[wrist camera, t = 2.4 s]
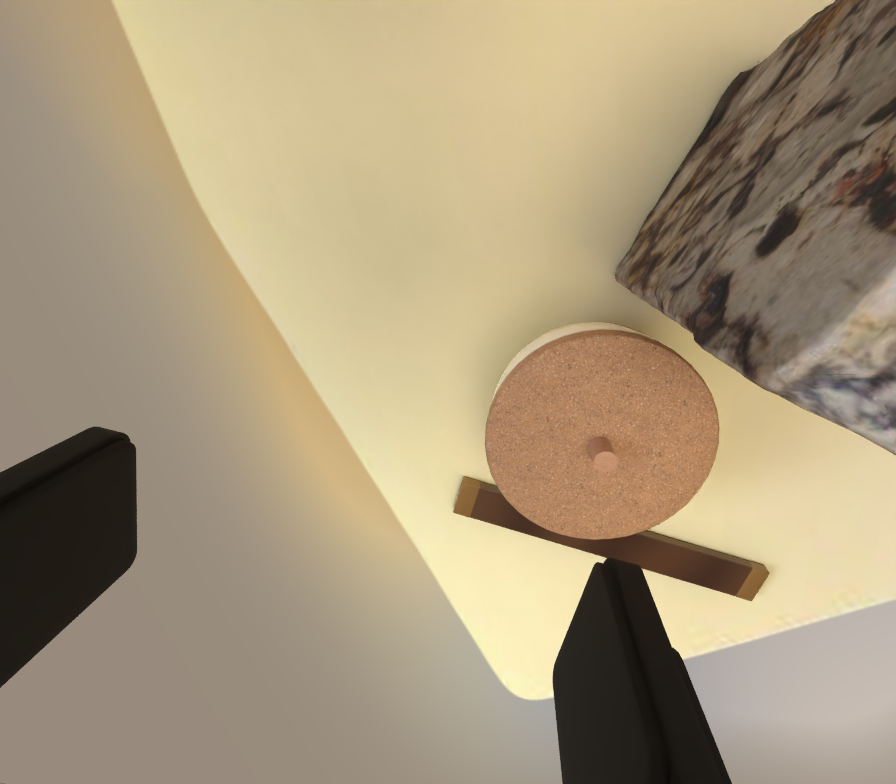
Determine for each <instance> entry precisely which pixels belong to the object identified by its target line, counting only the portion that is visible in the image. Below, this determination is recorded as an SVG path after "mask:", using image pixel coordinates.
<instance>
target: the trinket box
mask: <svg viewBox="0 0 896 784" xmlns="http://www.w3.org/2000/svg"><path fill="white" fill-rule="evenodd" d="M718 444H719V421H718V414H717V409H716V406H715V403H714V400H713V397H712V394H711V392H710V391H709V389H708V387H707V385H706V383H705V382H704V380H703V378H702V377H701V376H700V375H699V374H698V372H697V371H696V370H695V369H694V368H693V367H692V365H690V364H689V363H688V362H687V361H686V360H685V359H683V358H682V357H681V356H680V355H679V354H677V353H676V352H675V351H674V350H672V349H670V348H668V347H667V346H665V345H663V344H661V343H660V342H658V341H656V340H654V339H652V338H650V337H648V336H647V335H645V334H643V333H641V332H638V331H635V330H633V329H630V328H627V327H624V326H620V325H615V324H611V323H603V322H585V323H576V324H570V325H567V326H563V327H559V328H556V329H554V330H552V331H549V332H547V333H545V334H543V335H541V336H540V337H538V338H537V339H535V340H533V341H532V342H530V343H529V344H528V345H527V346H526V347H525V348H523V349H522V350H521V351H520V352H519V353H518V354H517V355H516V356H515V357H514V359H513V360H512V361H511V362H510V363H509V365H508V367H507V368H506V370H505V371H504V373H503V375H502V376H501V378H500V380H499V383H498V385H497V388H496V390H495V392H494V396H493V400H492V404H491V406H490V410H489V414H488V418H487V423H486V435H485V448H486V457H487V462H488V465H489V468H490V472H491V475H492V477H493V479H494V481H495V483H496V485H497V487H498V489H499V490H500V491H501V493H502V494H503V496H504V497H505V498H506V500H507V501H508V502H509V503H510V504H511V505H512V506H513V507H514V508H515V509H516V510H517V511H518V512H519V513H521V514H522V515H523V516H525V517H526V518H527V519H529V520H530V521H532V522H534V523H535V524H537V525H539V526H541V527H543V528H545V529H547V530H550V531H553V532H555V533H558V534H561V535H566V536H570V537H575V538H583V539H593V540H596V539H612V538H618V537H625V536H629V535H632V534H636V533H639V532H642V531H645V530H647V529H649V528H651V527H654V526H656V525H658V524H660V523H662V522H663V521H665V520H666V519H668V518H669V517H671V516H673V515H674V514H675V513H676V512H678V511H679V510H680V509H681V508H683V507H684V506H685V505H686V504H687V503H688V502H689V501H690V500H691V499H692V498H693V496H694V495H695V494H696V493H697V492H698V491H699V489H700V488H701V486H702V485H703V483H704V481H705V480H706V478H707V477H708V475H709V472H710V470H711V468H712V465H713V463H714V461H715V457H716V452H717V448H718Z"/></svg>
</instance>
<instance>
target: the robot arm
mask: <svg viewBox="0 0 896 784" xmlns="http://www.w3.org/2000/svg"><path fill="white" fill-rule="evenodd" d="M136 505H137V504H136V448H135V446H134V444H132V443H130V439H129V437H128V436H127V435H126V434H124V433H121V432H117V431H113V430H109V429H105V428H101V427H92V428H89V429H86V430H84V431H82V432H80V433H78V434H77V435H75V436H72V437H71V438H68V439H66V440H65V441H63V442H61V443H59V444H56V445H54V446H52V447H50V448H48V449H46V450H45V451H43V452H40V453H38V454H36V455H34V456H33V457H30V458H29V459H27V460H24V461H22V462H20V463H18V464H17V465H14V466H13V467H11V468H9V469H7V470H5V471H2V472H0V687H2V685H4V684H5V683H6V682H7V681H8V680H9V679H10V678H11V677H12V676H13V675H15V674H16V673H17V672H18V671H19V670H20V669H21V668H22V667H23V666H24V665H25V664H26V663H27V662H29V661H30V660H31V659H32V658H33V657H34V656H35V655H36V654H37V653H38V652H39V651H40V650H42V649H43V648H44V647H45V646H46V645H47V644H48V643H49V642H50V641H51V640H52V639H53V638H55V637H56V636H57V635H58V634H59V633H60V632H61V631H62V630H63V629H64V628H65V627H66V626H68V625H69V624H70V623H71V622H72V621H73V620H74V619H75V618H76V617H77V616H78V615H79V614H81V613H82V612H83V611H84V610H85V609H86V608H87V607H88V606H89V605H90V604H91V603H92V602H94V601H95V600H96V599H97V598H98V597H99V596H100V595H101V594H102V593H103V592H104V591H105V590H106V589H108V588H109V587H110V586H111V585H112V584H113V583H114V582H115V581H116V580H117V579H118V578H119V577H121V576H122V575H123V574H124V573H125V572H126V571H127V570H128V569H129V568H130V566H131V565H132V563H133V561H134V559H135V557H136V554H137V506H136ZM553 690H554V700H555V710H556V720H557V730H558V741H559V751H560V760H561V771H562V781H563V784H732V783H731V780H730V778H729V776H728V773H727V771H726V768H725V765H724V763H723V760H722V758H721V755H720V753H719V750H718V748H717V745H716V743H715V740H714V738H713V735H712V733H711V730H710V728H709V725H708V723H707V720H706V718H705V715H704V712H703V710H702V708H701V705H700V702H699V700H698V697H697V695H696V692H695V690H694V688H693V685H692V682H691V680H690V677H689V675H688V672H687V670H686V667H685V665H684V662H683V660H682V658H681V656H680V654H679V652H677V651H676V650H675V649H674V648H672V647H671V644H670V641H669V639H668V636H667V634H666V631H665V628H664V626H663V623H662V621H661V618H660V615H659V613H658V610H657V608H656V605H655V602H654V600H653V597H652V595H651V592H650V589H649V587H648V584H647V582H646V579H645V576H644V574H643V571H642V569H641V567H640V566H639V565H637V564H634V563H630V562H626V561H622V560H618V559H615V558H611V557H609V558H607V559H606V560H605V562H604V564H603V563H599V562H597V563H596V564H595V565H594V567H593V569H592V571H591V574H590V576H589V579H588V581H587V584H586V586H585V589H584V591H583V594H582V596H581V599H580V601H579V604H578V606H577V609H576V611H575V614H574V616H573V619H572V621H571V624H570V626H569V629H568V631H567V634H566V636H565V639H564V641H563V644H562V646H561V649H560V651H559V654H558V656H557V659H556V661H555V665H554V670H553ZM0 784H3V783H0Z"/></svg>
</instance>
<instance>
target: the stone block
mask: <svg viewBox="0 0 896 784" xmlns="http://www.w3.org/2000/svg"><path fill="white" fill-rule="evenodd" d="M614 275H615V278H616V281H617V282H619V283H620V284H622V285H623V286H625V287H626V288H627V289H629V290H630V291H631V292H632V293H634V294H636V295H637V296H639V297H640V298H641V299H643V300H645V301H646V302H648V303H649V304H650V305H652V306H653V307H654V308H656V309H658V310H659V311H661V312H662V313H663V314H665V315H666V316H667V317H669V318H671V319H672V320H674V321H676V322H677V323H679V324H680V325H681V326H682V327H684V328H685V329H687V330H688V331H690V332H691V333H693V335H694V340H695V342H696V343H697V344H698V345H700V346H701V347H702V348H703V349H704V350H706V351H707V352H709V353H710V354H712V355H713V356H715V357H716V358H718V359H719V360H721V361H722V362H724V363H725V364H727V365H729V366H730V367H732V368H733V369H735V370H736V371H738V372H739V373H741V374H742V375H743V376H744V377H745V378H747V379H749V380H750V381H752V382H753V383H755V384H756V385H758V386H760V387H761V388H763V389H765V390H767V391H770V392H772V393H774V394H777V395H779V396H781V397H783V398H785V399H786V400H788V401H790V402H792V403H794V404H795V405H797V406H799V407H801V408H803V409H805V410H807V411H810V412H812V413H814V414H816V415H818V416H821V417H823V418H825V419H827V420H829V421H832V422H834V423H836V424H838V425H840V426H842V427H844V428H846V429H849V430H851V431H853V432H855V433H857V434H859V435H861V436H862V437H864V438H866V439H868V440H870V441H871V442H873V443H875V444H877V445H879V446H880V447H882V448H884V449H886V450H888V451H890V452H891V453H893V454H895V455H896V0H836V1H835V2H834V3H833V4H831V5H829V6H827V7H826V8H824V9H823V10H822V11H820V12H818V13H816V14H815V15H813V16H812V17H811V18H810V19H809V20H808V21H807V22H806V23H805V24H804V25H803V26H802V27H800V28H799V29H798V30H797V31H795V32H794V33H792V34H791V35H790V36H789V37H787V38H786V39H785V40H784V41H783V42H782V44H781V45H780V46H779V47H778V48H777V49H776V50H775V51H774V52H773V53H772V54H771V55H770V56H769V57H768V58H767V59H766V60H764V61H763V62H762V63H760V64H759V65H757V66H755V67H754V68H752V69H750V70H748V71H745V72H741V73H740V74H739V75H738V76H737V77H736V78H735V79H734V80H733V81H732V83H731V84H730V86H729V87H728V88H727V90H726V91H725V93H724V94H723V96H722V97H721V99H720V101H719V103H718V104H717V106H716V108H715V110H714V112H713V114H712V115H711V117H710V119H709V121H708V123H707V125H706V126H705V128H704V130H703V132H702V133H701V135H700V136H699V138H698V139H697V141H696V142H695V144H694V146H693V147H692V149H691V150H690V152H689V153H688V155H687V156H686V158H685V159H684V161H683V163H682V164H681V166H680V167H679V169H678V170H677V172H676V173H675V175H674V177H673V178H672V180H671V181H670V183H669V184H668V186H667V188H666V189H665V191H664V192H663V194H662V196H661V197H660V199H659V201H658V203H657V204H656V206H655V208H654V209H653V210H652V211H651V213H650V214H649V215H648V217H647V219H646V220H645V222H644V224H643V226H642V228H641V230H640V232H639V234H638V236H637V238H636V240H635V241H634V243H633V245H632V247H631V249H630V251H629V252H628V254H627V255H626V256H625V257H624V259H623V260H622V262H621V263H620V265H619V266H618V268H617V270H616V272H615V274H614Z"/></svg>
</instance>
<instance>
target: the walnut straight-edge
mask: <svg viewBox="0 0 896 784" xmlns="http://www.w3.org/2000/svg"><path fill="white" fill-rule="evenodd" d="M453 512H454V513H456V514H460V515H463V516H466V517H471V518H474V519H478V520H481V521H484V522H488V523H491V524H494V525H498V526H501V527H505V528H508V529H511V530H515V531H518V532H521V533H525V534H528V535H531V536H535V537H538V538H542V539H545V540H548V541H552V542H555V543H558V544H562V545H565V546H568V547H572V548H575V549H579V550H582V551H585V552H589V553H592V554H595V555H599V556H602V557H605V558H609V557H611V558H615V559H618V560H622V561H626V562H630V563H634V564H637V565H639V566H640V567H641V568H642V569H646V570H649V571H653V572H656V573H659V574H663V575H666V576H669V577H673V578H676V579H679V580H683V581H686V582H690V583H693V584H696V585H700V586H703V587H706V588H710V589H713V590H716V591H720V592H723V593H727V594H730V595H733V596H736V597H739V598H742V599H746V600H749V601H752V600H753V599H754V597H755V595H756V594H757V592H758V591H759V589H760V588H761V586H762V585H763V583H764V581H765V580H766V578H767V577H768V575H769V571H768V570H767V569H766V567H765V566H764V565H761V564H758V563H755V562H751V561H747V560H744V559H741V558H737V557H734V556H730V555H727V554H724V553H720V552H717V551H714V550H710V549H707V548H703V547H700V546H697V545H693V544H690V543H687V542H683V541H680V540H676V539H673V538H670V537H666V536H663V535H660V534H656V533H653V532H649V531H646V530H645V531H642V532H639V533H636V534H632V535H629V536H625V537H618V538H612V539H596V540H593V539H583V538H575V537H570V536H566V535H561V534H558V533H555V532H553V531H550V530H547V529H545V528H543V527H541V526H539V525H537V524H535V523H534V522H532V521H530V520H529V519H527V518H526V517H525V516H523V515H522V514H521V513H519V512H518V511H517V510H516V509H515V508H514V507H513V506H512V505H511V504H510V503H509V502H508V501H507V500H506V498H505V497H504V496H503V494H502V493H501V491H500V490H499V489H498V487H497V486H494V485H491V484H487V483H484V482H481V481H478V480H474V479H471V478H468V477H464V478H463V481H462V484H461V487H460V490H459V493H458V496H457V500H456V503H455V506H454V511H453Z"/></svg>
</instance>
